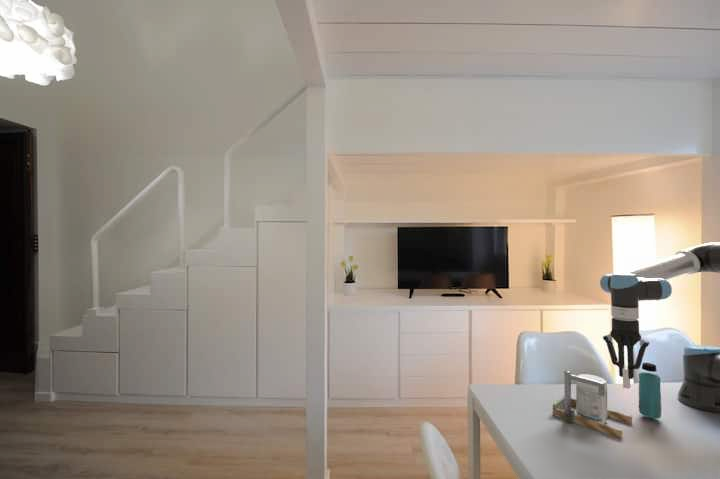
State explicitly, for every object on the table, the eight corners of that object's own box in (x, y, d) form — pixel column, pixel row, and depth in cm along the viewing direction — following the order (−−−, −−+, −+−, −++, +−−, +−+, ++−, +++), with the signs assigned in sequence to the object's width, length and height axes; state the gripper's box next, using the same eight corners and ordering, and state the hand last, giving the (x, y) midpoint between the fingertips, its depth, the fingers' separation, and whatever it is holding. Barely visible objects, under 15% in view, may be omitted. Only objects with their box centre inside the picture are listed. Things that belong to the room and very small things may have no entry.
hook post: (604, 433, 118) (604, 380, 119) (603, 435, 117) (603, 381, 117) (565, 420, 127) (565, 370, 128) (563, 421, 126) (563, 371, 126)
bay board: (632, 423, 125) (632, 411, 125) (621, 438, 115) (621, 426, 115) (567, 402, 141) (567, 392, 141) (552, 414, 131) (552, 404, 131)
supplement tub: (587, 410, 135) (587, 372, 135) (613, 422, 126) (613, 381, 126) (570, 415, 131) (570, 375, 131) (595, 427, 122) (595, 385, 122)
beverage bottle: (665, 424, 125) (665, 367, 125) (644, 422, 126) (644, 366, 126) (654, 415, 131) (654, 361, 131) (634, 413, 133) (634, 360, 133)
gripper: (599, 317, 123) (601, 384, 123) (646, 323, 114) (648, 396, 114) (605, 314, 128) (607, 378, 128) (651, 319, 119) (653, 389, 119)
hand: (626, 386), depth 121 cm, fingers closed
